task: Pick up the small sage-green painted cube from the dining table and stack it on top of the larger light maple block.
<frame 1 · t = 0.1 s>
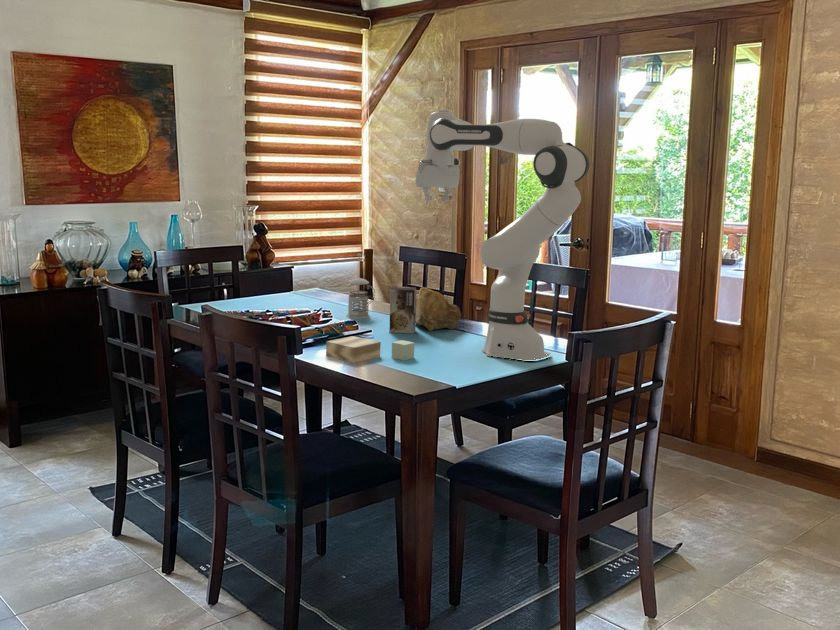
hand: (436, 201, 282), 48 cm above the table, fingers open, 8 cm apart
french press: (360, 316, 325), on the table
maple block: (353, 357, 259), on the table
rough brown rock: (437, 328, 309), on the table
coffee box: (402, 332, 299), on the table
sage cube: (402, 358, 259), on the table
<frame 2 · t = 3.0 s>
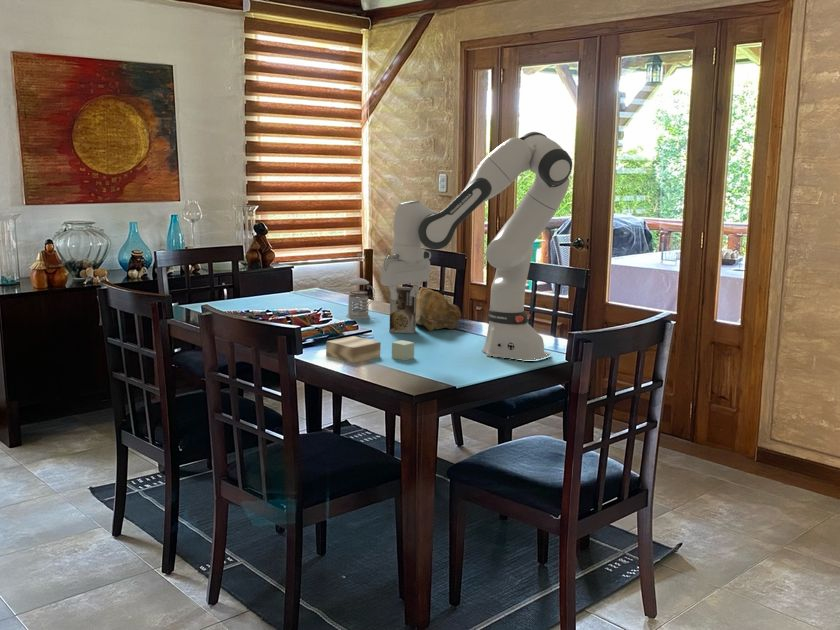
hand: (404, 297, 256), 19 cm above the table, fingers open, 8 cm apart
nothing on the table moved.
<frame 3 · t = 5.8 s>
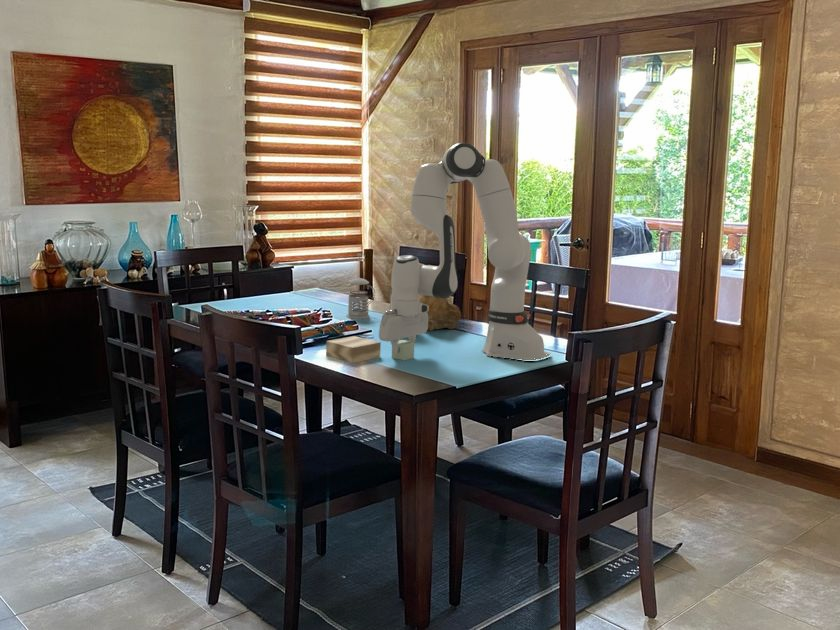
hand: (403, 351, 259), 2 cm above the table, fingers closed on sage cube, 5 cm apart
sage cube: (402, 357, 259), on the table, touching gripper
everything else where it was.
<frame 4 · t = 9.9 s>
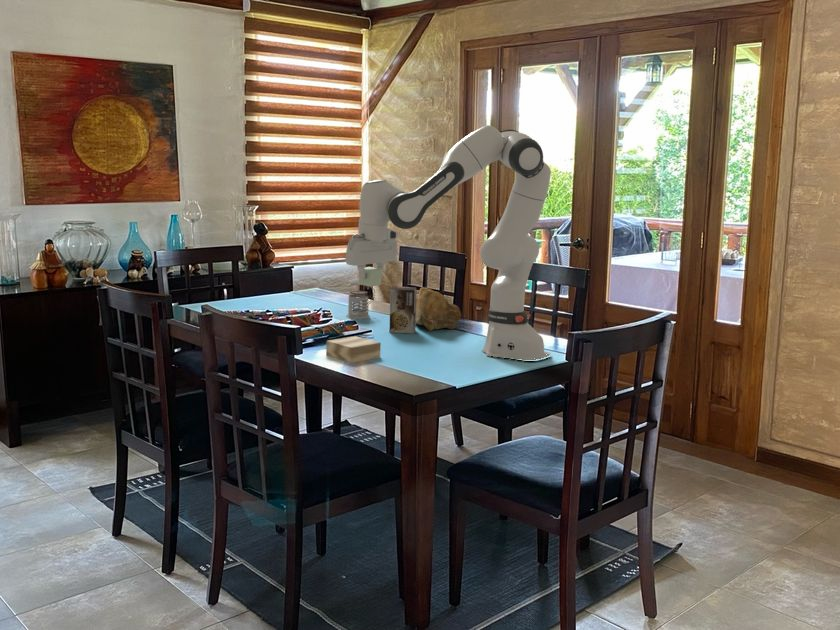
hand: (370, 277, 254), 25 cm above the table, fingers closed on sage cube, 5 cm apart
sage cube: (369, 284, 254), point 23 cm above the table, touching gripper
everything else where it was.
when the fingers open (9 cm above the table, at t = 14.1 s): sage cube drops 2 cm, resting on maple block.
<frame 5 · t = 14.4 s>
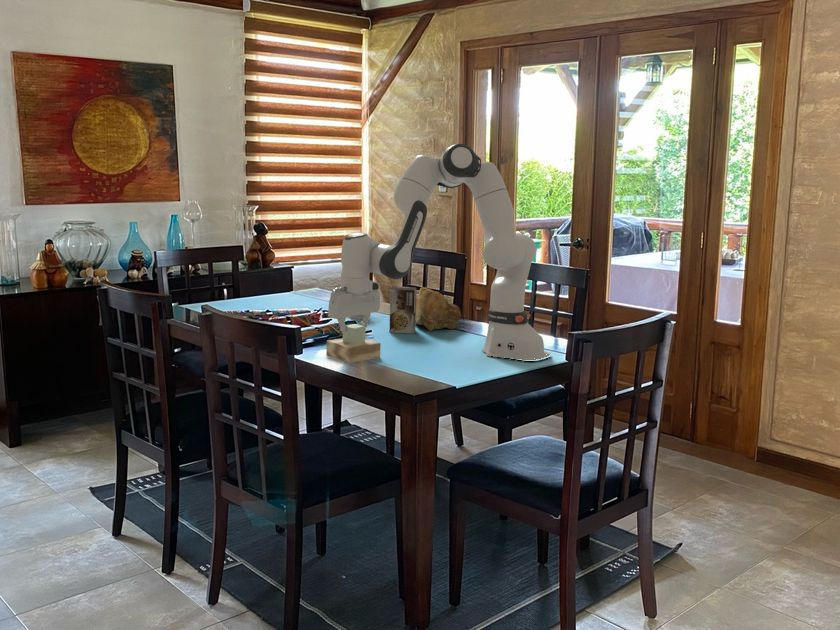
hand: (354, 329, 257), 9 cm above the table, fingers open, 8 cm apart
maple block: (353, 357, 259), on the table, touching sage cube
sage cube: (353, 341, 258), point 5 cm above the table, touching maple block
everything else where it was.
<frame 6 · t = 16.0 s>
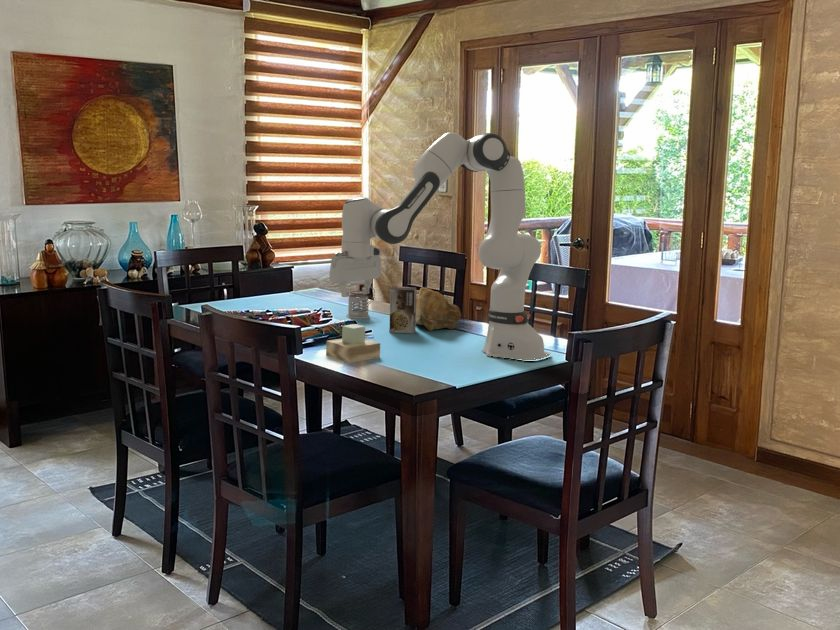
hand: (355, 295, 255), 19 cm above the table, fingers open, 8 cm apart
maple block: (352, 357, 259), on the table
sage cube: (353, 341, 258), point 5 cm above the table
everything else where it was.
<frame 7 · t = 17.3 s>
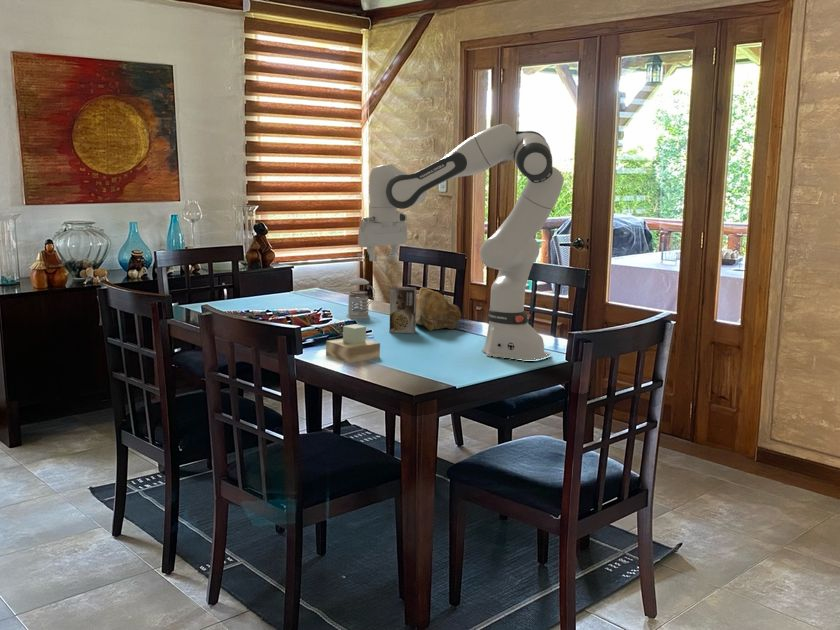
hand: (382, 259, 263), 30 cm above the table, fingers open, 8 cm apart
nothing on the table moved.
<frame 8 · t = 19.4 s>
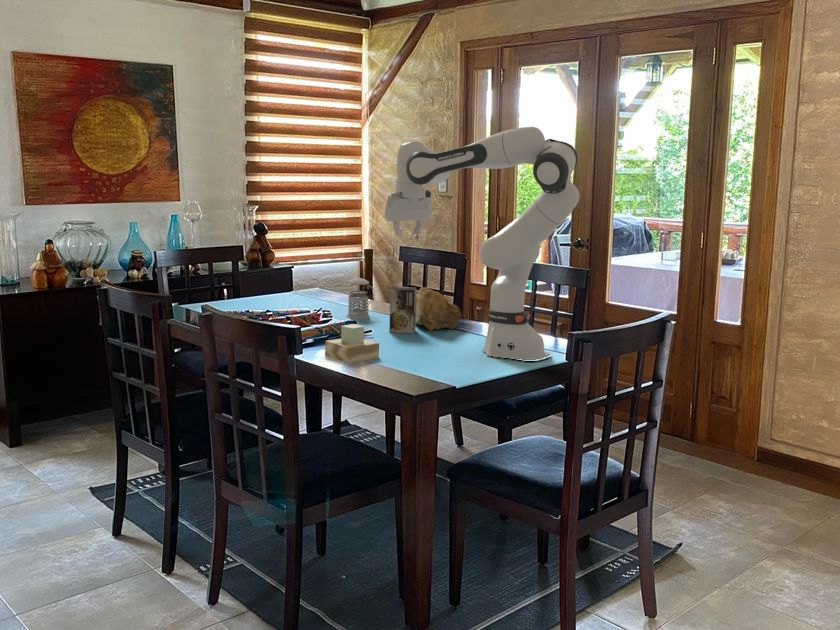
hand: (407, 234, 272), 37 cm above the table, fingers open, 8 cm apart
nothing on the table moved.
at the end: sage cube inside the target area on the maple block (0.1 cm from its centre), point 5.0 cm above the maple block's base; sage cube tilted 0°; the gripper is holding nothing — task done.
